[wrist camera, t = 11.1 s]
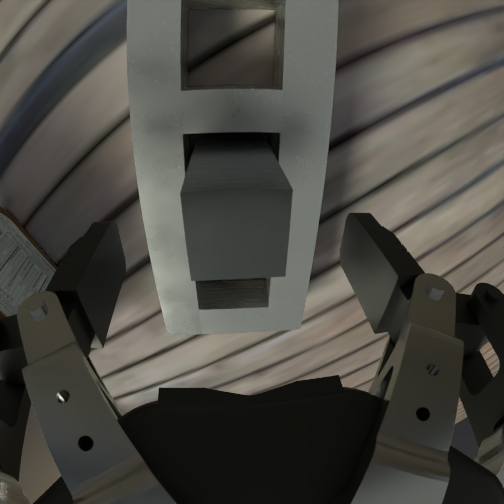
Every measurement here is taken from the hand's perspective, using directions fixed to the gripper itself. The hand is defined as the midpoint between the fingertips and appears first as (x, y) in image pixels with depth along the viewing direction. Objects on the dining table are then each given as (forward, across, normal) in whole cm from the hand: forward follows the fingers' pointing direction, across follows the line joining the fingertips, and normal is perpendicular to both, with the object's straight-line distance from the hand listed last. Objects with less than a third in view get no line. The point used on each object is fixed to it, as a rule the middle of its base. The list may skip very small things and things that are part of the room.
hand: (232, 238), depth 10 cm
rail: (+9, 0, 0) cm, 9 cm away
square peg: (+9, 0, 0) cm, 9 cm away
